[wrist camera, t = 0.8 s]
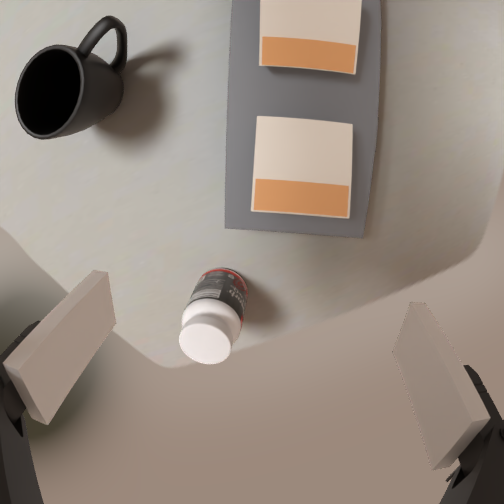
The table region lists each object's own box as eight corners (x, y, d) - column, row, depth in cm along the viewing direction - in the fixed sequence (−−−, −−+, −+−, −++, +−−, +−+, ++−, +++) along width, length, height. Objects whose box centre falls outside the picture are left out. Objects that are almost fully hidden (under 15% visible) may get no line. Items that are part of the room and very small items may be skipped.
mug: (178, 64, 27) (138, 46, 18) (99, 145, 30) (44, 159, 22) (132, 17, 25) (83, -9, 16) (60, 97, 28) (2, 100, 20)
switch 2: (258, 125, 24) (256, 115, 22) (345, 132, 24) (352, 123, 21) (253, 211, 25) (250, 211, 22) (342, 218, 25) (349, 218, 22)
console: (246, -85, 19) (240, -111, 14) (363, -75, 18) (374, -99, 13) (232, 211, 32) (223, 230, 27) (354, 220, 32) (367, 240, 26)
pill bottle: (254, 305, 37) (245, 365, 27) (207, 313, 38) (187, 372, 29) (239, 260, 34) (224, 314, 25) (190, 271, 35) (162, 324, 26)
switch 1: (262, -19, 17) (260, -23, 16) (355, -10, 17) (362, -13, 15) (261, 61, 22) (259, 65, 20) (349, 69, 22) (355, 74, 20)
